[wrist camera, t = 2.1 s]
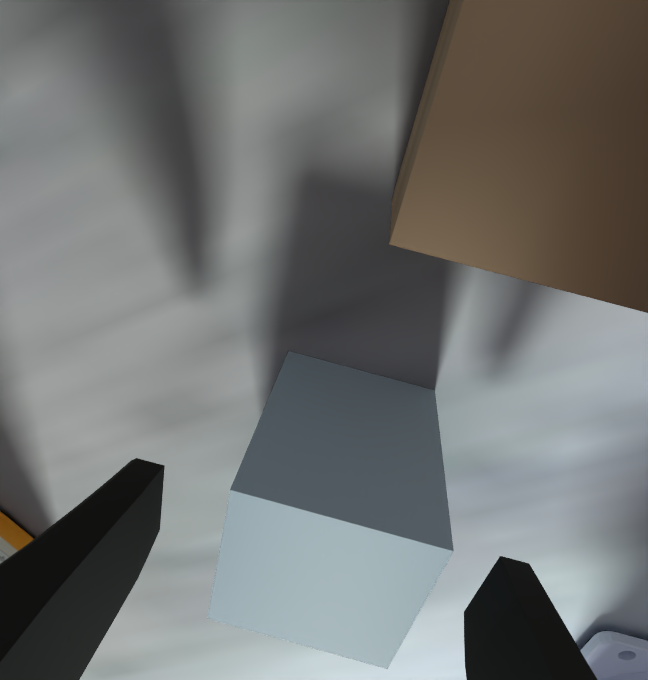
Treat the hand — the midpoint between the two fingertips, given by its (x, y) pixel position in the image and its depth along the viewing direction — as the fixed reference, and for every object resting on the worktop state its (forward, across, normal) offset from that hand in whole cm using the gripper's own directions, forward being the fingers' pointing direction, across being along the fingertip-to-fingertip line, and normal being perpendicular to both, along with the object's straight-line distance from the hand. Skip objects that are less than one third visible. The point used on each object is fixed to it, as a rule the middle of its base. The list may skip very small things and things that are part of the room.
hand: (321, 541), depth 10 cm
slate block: (+4, 0, 0) cm, 4 cm away
